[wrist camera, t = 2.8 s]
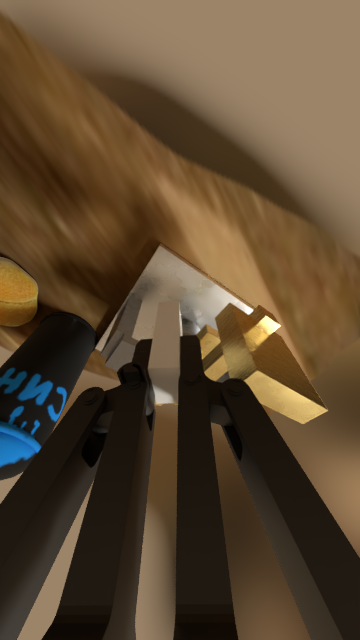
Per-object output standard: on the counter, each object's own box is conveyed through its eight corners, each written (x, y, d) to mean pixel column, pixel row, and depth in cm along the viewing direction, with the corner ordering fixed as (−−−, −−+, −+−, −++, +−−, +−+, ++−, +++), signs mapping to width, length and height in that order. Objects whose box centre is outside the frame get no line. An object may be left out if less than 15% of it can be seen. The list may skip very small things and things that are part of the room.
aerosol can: (75, 363, 35) (-19, 534, 18) (28, 332, 31) (-144, 510, 14) (109, 338, 32) (33, 515, 15) (61, 301, 28) (-106, 478, 12)
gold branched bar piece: (132, 384, 28) (110, 483, 19) (229, 272, 19) (274, 357, 10) (171, 400, 30) (168, 497, 21) (274, 305, 21) (345, 400, 12)
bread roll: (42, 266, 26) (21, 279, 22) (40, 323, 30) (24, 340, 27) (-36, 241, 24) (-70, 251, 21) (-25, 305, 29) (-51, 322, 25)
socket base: (97, 343, 32) (71, 397, 24) (160, 242, 24) (151, 275, 16) (192, 386, 38) (196, 442, 30) (269, 318, 30) (302, 369, 22)
